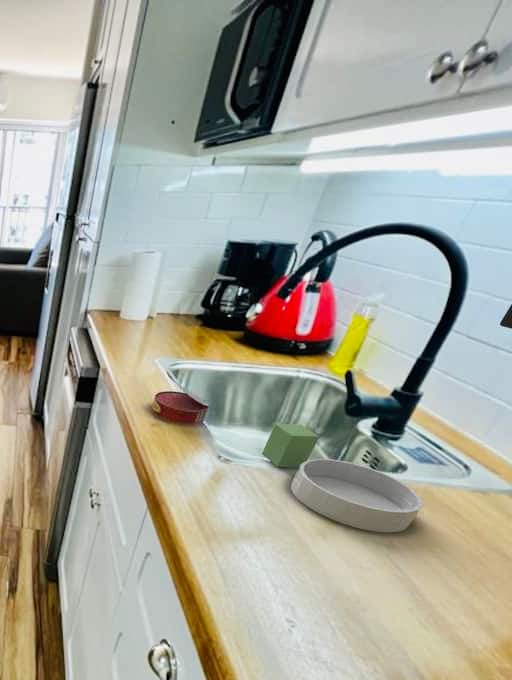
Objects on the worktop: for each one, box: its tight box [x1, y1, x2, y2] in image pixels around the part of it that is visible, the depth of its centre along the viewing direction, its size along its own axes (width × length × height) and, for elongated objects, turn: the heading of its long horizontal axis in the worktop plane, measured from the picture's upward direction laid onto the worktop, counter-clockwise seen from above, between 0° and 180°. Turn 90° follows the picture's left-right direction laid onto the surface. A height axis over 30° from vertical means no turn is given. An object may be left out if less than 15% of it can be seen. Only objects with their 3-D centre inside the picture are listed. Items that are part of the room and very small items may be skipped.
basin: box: [290, 458, 424, 533], centre depth 71 cm, size 14×14×4 cm
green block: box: [261, 423, 320, 469], centre depth 81 cm, size 4×4×6 cm
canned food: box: [150, 370, 210, 426], centre depth 97 cm, size 11×10×10 cm
